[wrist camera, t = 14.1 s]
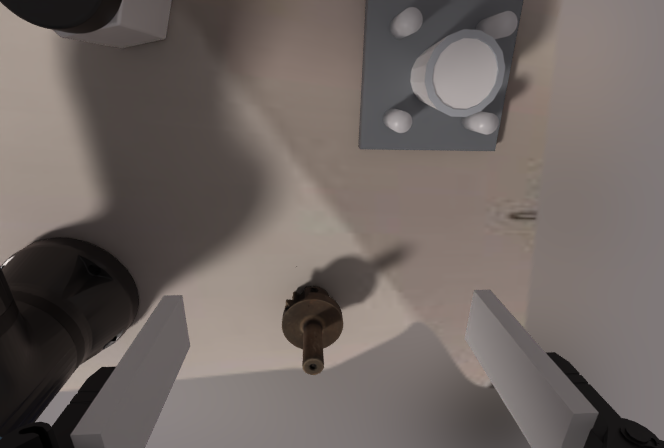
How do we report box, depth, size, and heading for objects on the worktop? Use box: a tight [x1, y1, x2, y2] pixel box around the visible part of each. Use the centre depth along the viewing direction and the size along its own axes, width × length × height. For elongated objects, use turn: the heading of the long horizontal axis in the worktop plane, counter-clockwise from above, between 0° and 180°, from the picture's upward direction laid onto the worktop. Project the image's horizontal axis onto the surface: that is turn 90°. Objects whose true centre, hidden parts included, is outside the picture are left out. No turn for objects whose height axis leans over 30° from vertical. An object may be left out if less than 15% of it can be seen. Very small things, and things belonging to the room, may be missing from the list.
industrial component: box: [282, 266, 343, 375], centre depth 41 cm, size 9×7×12 cm
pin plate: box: [358, 0, 523, 151], centre depth 35 cm, size 15×15×6 cm
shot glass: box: [410, 29, 505, 117], centre depth 33 cm, size 7×7×7 cm
